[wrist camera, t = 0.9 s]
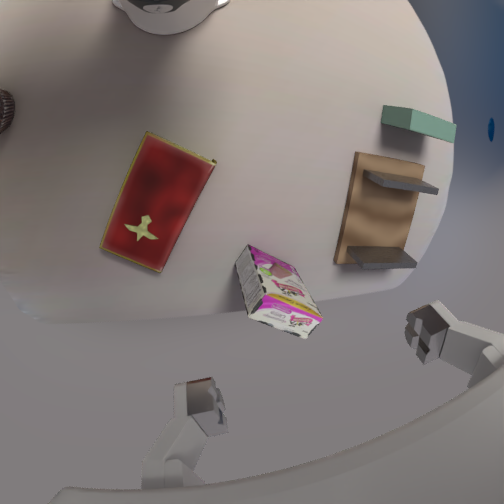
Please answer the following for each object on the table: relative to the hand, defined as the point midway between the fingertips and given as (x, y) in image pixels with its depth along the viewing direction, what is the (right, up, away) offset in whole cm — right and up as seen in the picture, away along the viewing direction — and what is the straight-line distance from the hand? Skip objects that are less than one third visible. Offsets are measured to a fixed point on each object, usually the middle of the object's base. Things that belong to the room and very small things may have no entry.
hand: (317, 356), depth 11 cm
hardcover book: (-19, +13, +39) cm, 45 cm away
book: (+27, +29, +39) cm, 55 cm away
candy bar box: (0, +2, +48) cm, 48 cm away
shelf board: (+23, +12, +47) cm, 53 cm away
